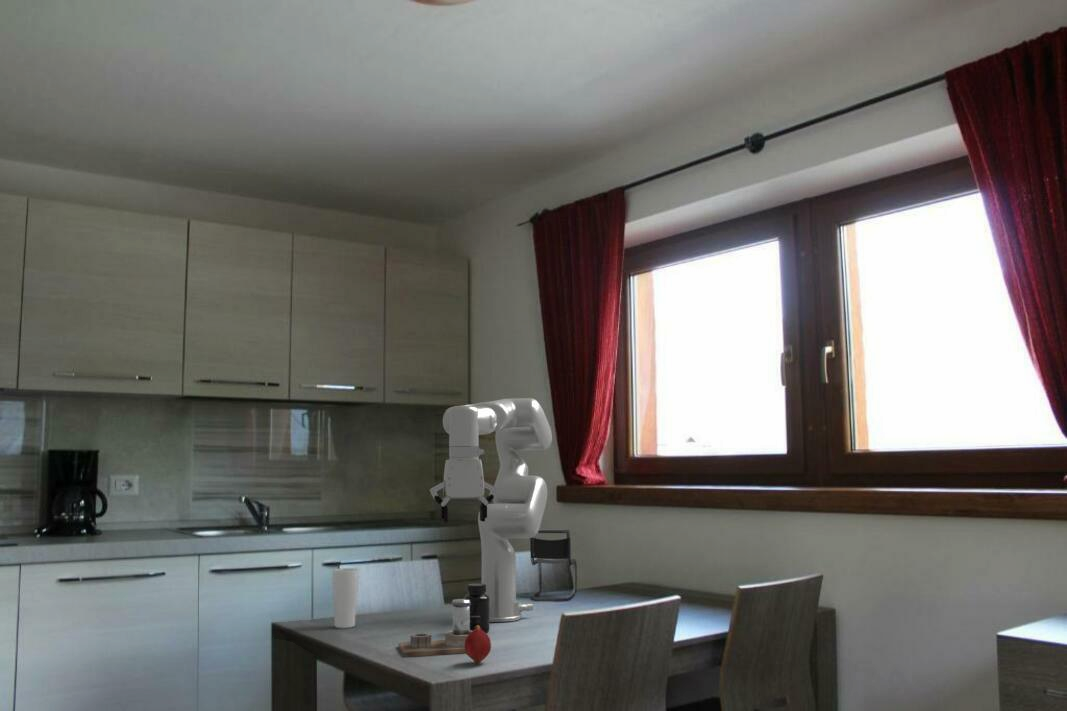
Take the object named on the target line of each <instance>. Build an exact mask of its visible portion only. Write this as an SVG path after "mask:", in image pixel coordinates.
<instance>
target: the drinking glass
mask: <svg viewBox="0 0 1067 711" xmlns="http://www.w3.org/2000/svg"><path fill="white" fill-rule="evenodd" d="M358 592H359V569H358V568H353V567H352V568H350V567H349V568H348V567H347V568H346V567H344V568H343V567H342V568H336V569H333V571H332V597H333V598H332V600H333V611H334V614H333V616H334V627H335V628H336V629H351V628H354V627H355V626H356V613H357V602H358Z"/></svg>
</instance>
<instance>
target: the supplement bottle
mask: <svg viewBox="0 0 1067 711" xmlns="http://www.w3.org/2000/svg"><path fill="white" fill-rule="evenodd" d="M466 592H467V594H466V595H465V596H464V597H463V599H469V600H470V601H471V605H470V630H471V631H473V630H474V629H475V627H476V626H480V628H481V630H483V631H484V632H485V633H486V634H488V633H489V632H490V623H491V622H490V598H489V597H488V596H487V595H486V594H485V592H486V584H482V583H469V584H467V590H466Z"/></svg>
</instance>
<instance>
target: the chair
mask: <svg viewBox="0 0 1067 711" xmlns="http://www.w3.org/2000/svg"><path fill="white" fill-rule="evenodd" d="M537 534H566V538H561V539H541V538H535V536H534V537H532V538H529V539H530V540H529V541H530V543H529V544H530V546H529V547H530V563H531V565H532V566H535V565H537V570H538V571H537V572H538V574H537V576H538V580H537V583H538V586H537V588H538V589H537V591H536V592H535V593H534V594H533V595H532V596H530V600H531V601H534V602H569V601H571V600H572V599H573V598H574V597H575V596H576V595H577V592H578V591H577V588H578V581H577V580H578V576H577V574H578V572H577V570H578V569H577V568H578V567H577V560H576V559H575V558H572V555H571V554H572V553H571V552H572V551H571V545H572V544H571V532H570V530H569V529H539V531H538V533H537ZM565 563H567V565H568V566H569V567H570V566H572V567H573V571H572V572H573V589H572V590H573V591H572V593H571V594H570V595H569V596H568V597H538V596H539V595H541V594H542V588H543V587H542V584H543V581H542V580H543V579H542V576H543V575H542V573H543V572H542V564H553V565H554V564H565Z"/></svg>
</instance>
